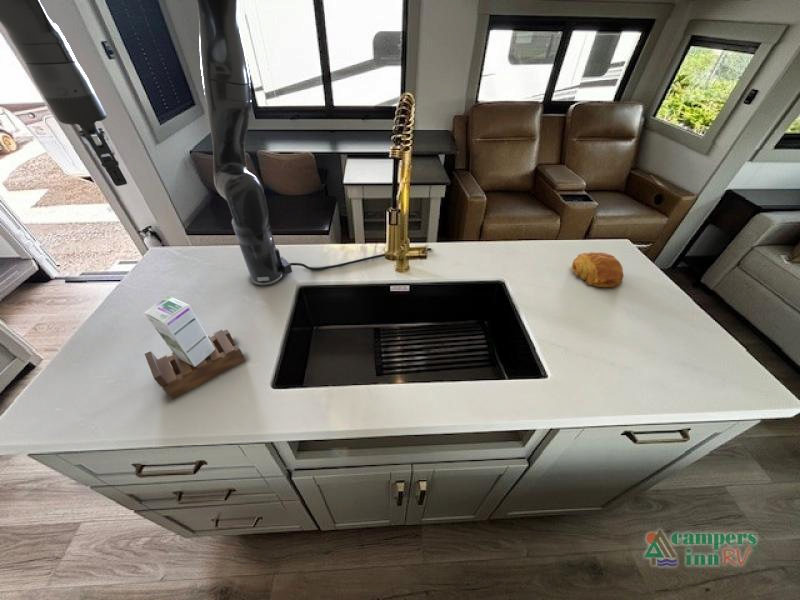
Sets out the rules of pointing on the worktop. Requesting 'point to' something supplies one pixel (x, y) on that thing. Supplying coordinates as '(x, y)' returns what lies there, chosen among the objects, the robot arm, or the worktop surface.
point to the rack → (194, 376)
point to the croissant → (598, 269)
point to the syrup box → (180, 330)
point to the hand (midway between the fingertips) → (117, 178)
